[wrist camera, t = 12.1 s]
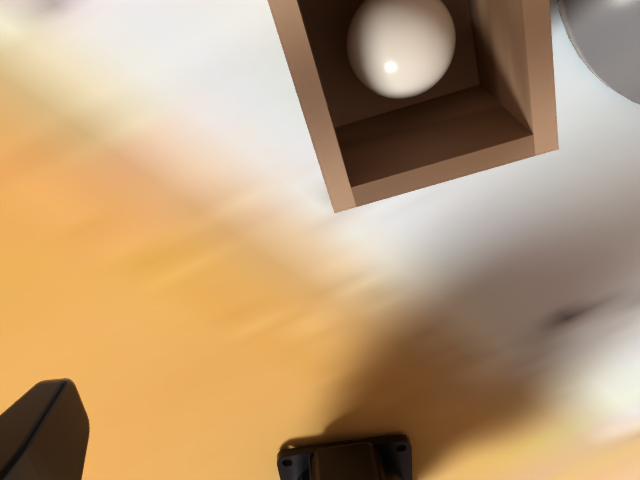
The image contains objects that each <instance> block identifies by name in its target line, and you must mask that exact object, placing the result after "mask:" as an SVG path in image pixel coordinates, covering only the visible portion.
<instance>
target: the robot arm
mask: <svg viewBox="0 0 640 480" xmlns="http://www.w3.org/2000/svg"><path fill="white" fill-rule="evenodd" d="M89 429H90V428H89V419H88V416H87V413H86V411H85V408H84V406H83V403H82V401H81V398H80V396H79V393H78V391H77V388H76V386H75V384H74V382H73V381H72V380H70V379H67V378H64V379H53V380H44V381H41V382H39V383H37V384H36V385H35V386H33V387H32V388H31V389H30V390H29V391H28V392H26V393H25V394H24V395H23V396H22V397H21V398H20V399H18V400H17V401H16V402H15V403H14V404H13V405H11V406H10V407H9V408H8V409H7V410H6V411H5V412H3V413H2V414H1V415H0V480H81V479H82V474H83V468H84V462H85V456H86V450H87V444H88V439H89ZM277 466H278V471H279V475H280V479H281V480H412V454H411V444H410V440H409V437H407V436H406V435H392V436H384V437H377V438H369V439H361V440H353V441H346V442H338V443H330V444H323V445H315V446H307V447H299V448H292V449H285V450H282V451H280V452H279V453H278V454H277Z"/></svg>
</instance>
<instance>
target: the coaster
mask: <svg viewBox="0 0 640 480" xmlns="http://www.w3.org/2000/svg"><path fill="white" fill-rule="evenodd" d="M557 2H558V6H559V11H560V16H561V19H562V21H563V24H564V27H565V29H566V32H567V35H568V37H569V39H570V41H571V43H572V45H573V47H574V48H575V50H576V52H577V54H578V55H579V57H580V58H581V60H582V61H583V62H584V63H585V65H586V66H587V67H588V68H589V70H590V71H591V72H592V73H593V74H594V75H595V76H596V77H597V78H599V79H600V80H601V81H602V82H603V83H604V84H605V85H607V86H608V87H610V88H611V89H613V90H614V91H616V92H618V93H619V94H621V95H623V96H624V97H626V98H628V99H630V100H631V101H633V102H635V103H638V104H640V0H557Z"/></svg>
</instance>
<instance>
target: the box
mask: <svg viewBox="0 0 640 480" xmlns="http://www.w3.org/2000/svg"><path fill="white" fill-rule="evenodd" d="M364 1H365V0H268V3H269V6H270V9H271V13H272V16H273V19H274V22H275V25H276V28H277V32H278V35H279V38H280V41H281V44H282V47H283V51H284V54H285V57H286V60H287V63H288V67H289V70H290V73H291V76H292V79H293V82H294V86H295V89H296V92H297V95H298V98H299V102H300V105H301V108H302V111H303V114H304V117H305V121H306V124H307V127H308V130H309V133H310V137H311V140H312V143H313V146H314V149H315V152H316V156H317V159H318V162H319V165H320V168H321V172H322V175H323V178H324V181H325V184H326V187H327V191H328V194H329V197H330V200H331V203H332V207H333V210H334V213H337V212H341V211H344V210H348V209H351V208H355V207H358V206H362V205H365V204H369V203H372V202H376V201H379V200H383V199H386V198H390V197H393V196H397V195H400V194H404V193H407V192H411V191H414V190H418V189H421V188H425V187H428V186H431V185H435V184H438V183H442V182H445V181H449V180H452V179H456V178H459V177H463V176H466V175H470V174H473V173H477V172H480V171H484V170H487V169H491V168H494V167H498V166H501V165H505V164H508V163H512V162H515V161H519V160H522V159H526V158H529V157H533V156H536V155H540V154H543V153H547V152H550V151H554V150H557V149H559V148H558V132H557V116H556V100H555V84H554V68H553V51H552V35H551V19H550V3H549V0H441V1H442V2H443V3H444V5H445V6H446V8H447V9H448V11H449V13H450V15H451V17H452V20H453V23H454V27H455V33H456V43H455V50H454V55H453V58H452V61H451V63H450V66H449V68H448V69H447V71H446V73H445V74H444V76H443V77H442V78H441V79H440V80H439V81H438V82H437V83H436V84H435V85H434V86H433V87H432V88H430V89H429V90H427V91H426V92H424V93H422V94H420V95H417V96H414V97H410V98H404V99H392V98H387V97H383V96H380V95H378V94H376V93H374V92H372V91H371V90H369V89H368V88H366V87H365V86H364V85H363V84H362V83H361V82H360V81H359V79H358V78H357V77H356V75H355V74H354V72H353V70H352V68H351V66H350V63H349V60H348V55H347V49H346V40H347V33H348V28H349V25H350V22H351V20H352V18H353V16H354V14H355V12H356V11H357V9H358V8H359V6H360V5H361V4H362V3H363V2H364Z"/></svg>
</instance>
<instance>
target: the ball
mask: <svg viewBox="0 0 640 480" xmlns="http://www.w3.org/2000/svg"><path fill="white" fill-rule="evenodd" d="M455 43H456V33H455V27H454V23H453V20H452V17H451V15H450V13H449V11H448V9H447V8H446V6H445V5H444V3H443V2H442V1H441V0H365V1H364V2H363V3H362V4H361V5H360V6H359V8H358V9H357V11H356V12H355V14H354V16H353V18H352V20H351V22H350V25H349V28H348V33H347V40H346V49H347V55H348V60H349V63H350V66H351V68H352V70H353V72H354V74H355V75H356V77H357V78H358V79H359V81H360V82H361V83H362V84H363V85H364V86H365V87H366V88H368V89H369V90H371V91H372V92H374V93H376V94H378V95H380V96H383V97H387V98H392V99H404V98H410V97H414V96H417V95H420V94H422V93H424V92H426V91H427V90H429V89H430V88H432V87H433V86H434V85H435V84H436V83H437V82H438V81H439V80H440V79H441V78H442V77H443V76H444V74H445V73H446V71H447V69H448V68H449V66H450V63H451V61H452V58H453V55H454V50H455Z"/></svg>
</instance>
